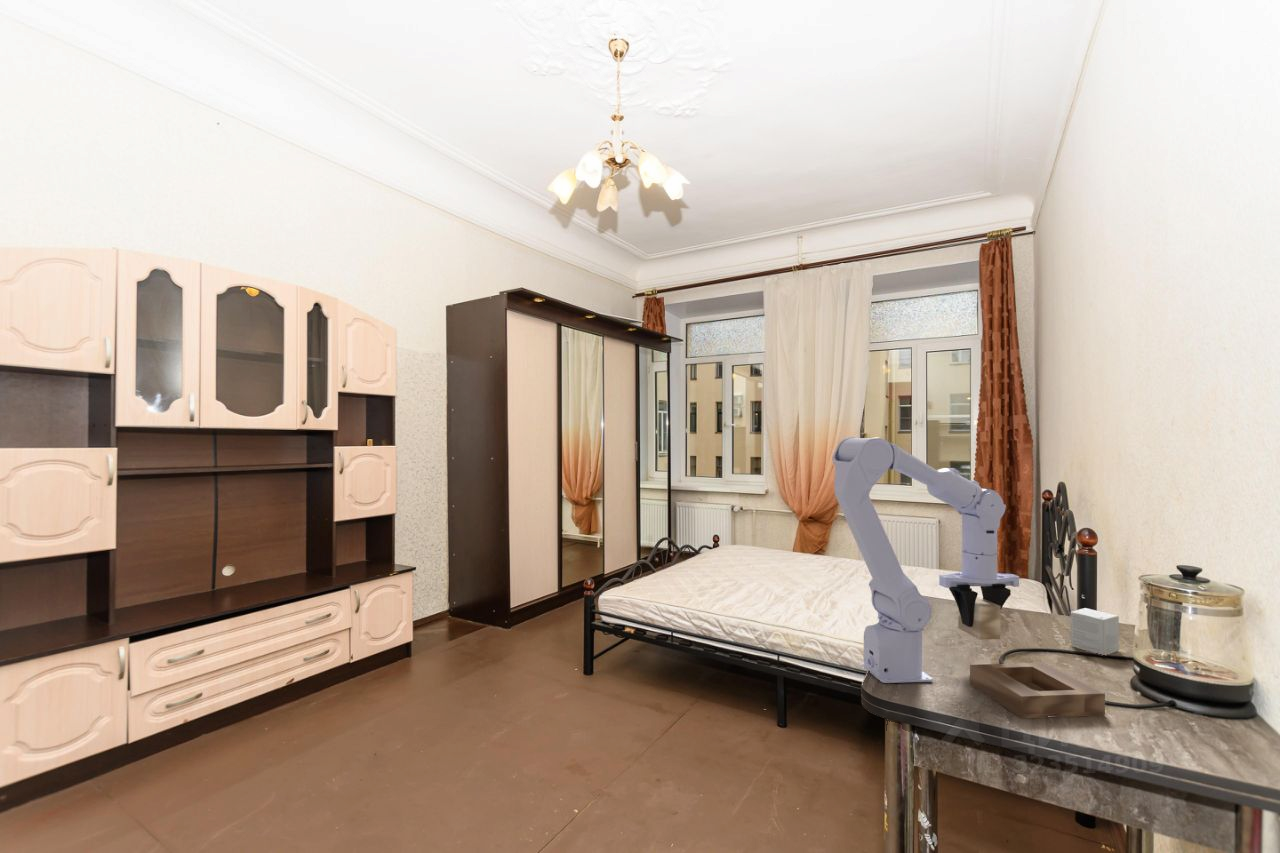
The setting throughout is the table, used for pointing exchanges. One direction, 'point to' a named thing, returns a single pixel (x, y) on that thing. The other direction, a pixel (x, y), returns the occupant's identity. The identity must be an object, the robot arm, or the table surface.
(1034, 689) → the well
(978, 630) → the beige wooden block
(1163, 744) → the table surface
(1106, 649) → the product box
